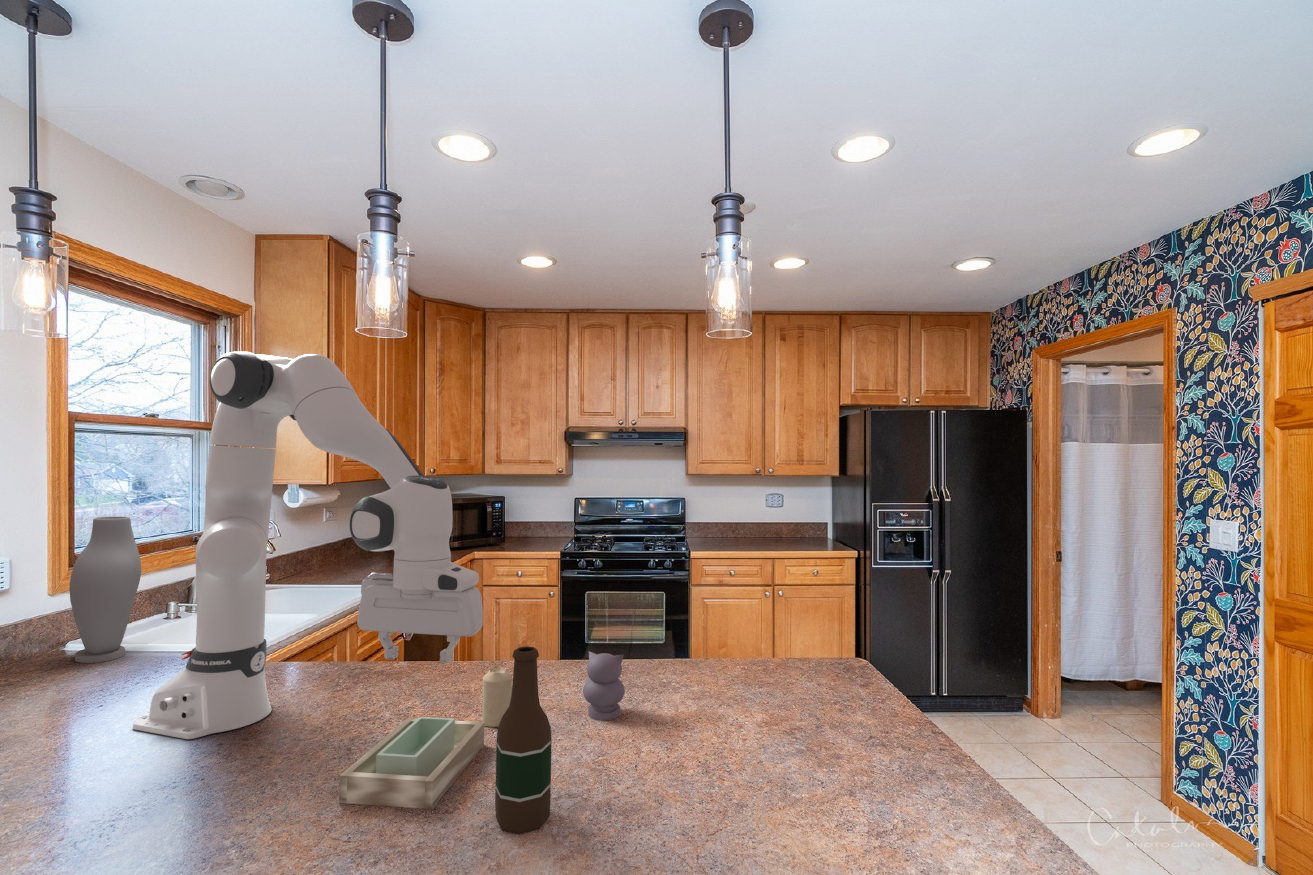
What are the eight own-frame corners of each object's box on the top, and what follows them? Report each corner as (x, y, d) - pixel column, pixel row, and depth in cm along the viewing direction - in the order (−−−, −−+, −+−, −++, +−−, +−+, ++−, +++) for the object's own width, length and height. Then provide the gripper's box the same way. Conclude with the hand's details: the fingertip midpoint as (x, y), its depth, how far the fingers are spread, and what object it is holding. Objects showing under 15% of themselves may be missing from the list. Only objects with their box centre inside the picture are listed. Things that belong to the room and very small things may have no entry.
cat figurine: (576, 719, 122) (577, 657, 122) (590, 703, 129) (591, 646, 130) (617, 724, 120) (618, 661, 120) (629, 708, 127) (630, 649, 128)
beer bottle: (499, 804, 92) (502, 641, 92) (552, 802, 92) (555, 640, 93) (489, 836, 84) (493, 658, 85) (547, 834, 85) (550, 657, 85)
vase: (51, 662, 150) (60, 518, 152) (106, 646, 163) (115, 514, 164) (96, 667, 148) (105, 521, 149) (149, 651, 161) (157, 516, 162)
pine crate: (338, 802, 92) (339, 775, 92) (406, 740, 112) (407, 717, 112) (432, 809, 90) (432, 781, 90) (483, 744, 111) (484, 721, 111)
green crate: (375, 787, 94) (376, 754, 94) (419, 745, 108) (419, 716, 108) (415, 790, 94) (416, 757, 94) (454, 747, 108) (454, 718, 108)
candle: (503, 728, 117) (504, 675, 118) (476, 725, 118) (477, 673, 119) (515, 716, 123) (516, 665, 123) (490, 714, 124) (491, 663, 124)
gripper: (351, 575, 100) (347, 662, 99) (473, 581, 98) (470, 669, 97) (373, 568, 106) (369, 650, 106) (488, 574, 104) (485, 657, 104)
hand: (418, 659), depth 101 cm, fingers open, 8 cm apart
